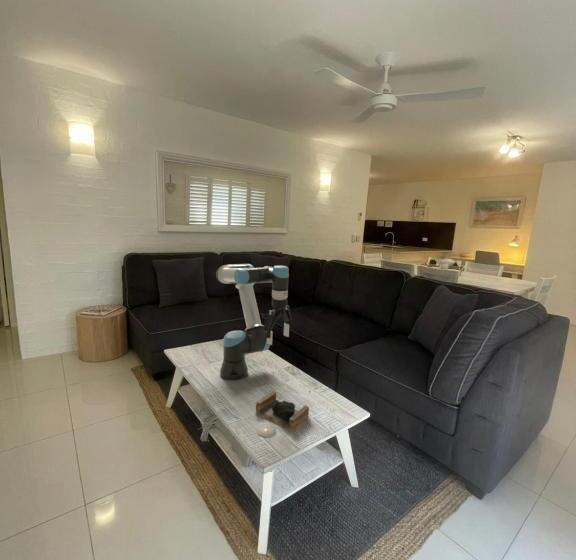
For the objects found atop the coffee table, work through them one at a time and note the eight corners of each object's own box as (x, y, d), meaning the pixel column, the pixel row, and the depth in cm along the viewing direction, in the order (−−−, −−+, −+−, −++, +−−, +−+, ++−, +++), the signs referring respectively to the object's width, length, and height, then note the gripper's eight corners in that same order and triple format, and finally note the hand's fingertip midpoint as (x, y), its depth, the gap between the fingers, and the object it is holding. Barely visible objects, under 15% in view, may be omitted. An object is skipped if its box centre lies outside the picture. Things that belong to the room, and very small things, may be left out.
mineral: (270, 420, 130) (270, 408, 129) (272, 408, 139) (273, 396, 138) (294, 422, 129) (294, 410, 128) (294, 409, 138) (295, 398, 137)
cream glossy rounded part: (252, 432, 125) (252, 431, 125) (264, 422, 131) (264, 420, 131) (268, 440, 121) (268, 439, 121) (279, 429, 127) (279, 427, 127)
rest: (255, 412, 137) (256, 402, 136) (272, 400, 147) (273, 390, 146) (292, 432, 126) (293, 420, 125) (308, 417, 135) (308, 407, 134)
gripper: (269, 304, 135) (267, 349, 139) (300, 295, 155) (298, 334, 159) (256, 301, 139) (255, 345, 144) (288, 292, 160) (286, 331, 164)
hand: (278, 339), depth 152 cm, fingers open, 13 cm apart
